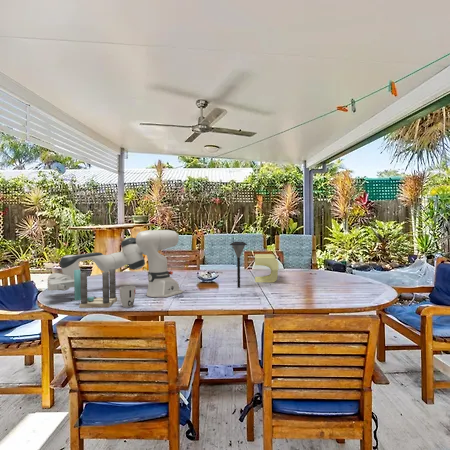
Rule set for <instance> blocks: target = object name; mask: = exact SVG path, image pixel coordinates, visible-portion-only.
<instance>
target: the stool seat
mask: <svg viewBox="0 0 450 450" xmlns="http://www.w3.org/2000/svg"><path fill="white" fill-rule="evenodd" d="M101 278H102V297H101V296H99V297H97V296H93V297H94V300H93V301H88V300H87V298H88V272H86V271H84V272H83V271H81V273H80V280H81V300H80V303H79V304H78V305H79V308H80V309H93V308H95V309H100V308H103V309H105V308H110V307H112V305H114V304H115V303H116V302H118V297H117V295H116V293H117V292H116V291H117V289H116V287H117V286H116V285H117V284H116V283H117V282H116V270H115V269H109V272H104V271H102V277H101Z"/></svg>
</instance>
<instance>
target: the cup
mask: <svg viewBox="0 0 450 450" xmlns="http://www.w3.org/2000/svg"><path fill="white" fill-rule="evenodd" d="M119 298H120V303H121V305H122V307H123V308H125V309H126V308H133V307H134V303H135V298H136V286H134V285H124V286H120V287H119Z"/></svg>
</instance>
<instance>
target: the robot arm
mask: <svg viewBox="0 0 450 450" xmlns="http://www.w3.org/2000/svg"><path fill="white" fill-rule="evenodd" d="M179 239H180V238H179V235H178V232H177V231H175V230H170V229H152V230H151V229H149V230H146V229H145V230H142V231H139V232H138V233H137V234H136V236H135V237H127V238H125V239H123V240H122V241H121V243H120V244H121V245H120V246H121V248H122V251H118V252H114V253H113V252H112V253H110V254H104V253H102V252H87V253H81V254H68V255H67V254H66V255H64V256H62V257H61V258H60V261H59V266H60V268H61V272H62V273H60V272H54V273H51V274H49V275H48V277H47V291H50V292H51V291H63V292H64V291H68V290H69V289H70V288H74V270H81V269H80V265H79V263H80V262H83V261H93V263H94V264H95V265H96V266H97V268H98V269H99V270H100V271H102V272H109V269H115V271H116V270H119V269H120V268H122V267H124V266H126V265H127V266H126V268H129V269H130V270H132V271H135V270H140V269H142V268H143V267H144V266H145V265H146V261H145V259H144V258H145V257H144V256H146V258H147V261H148V272H147V280H148V282H147V283H148V284H147V291H146V296H147V297H152V298H169V297H173V296H176V295H179V294H182V293H184V290H182V289H180V285H179V283H178V281H177V280H176V279H174V278H172V277H171V276H170V275H173V274H174V272H173V271H172V270H168V259H167V257H166V256H165V255H163V254H161V253H160V252H159V251H162V250H166V249H170V248H173V247H176V246H177V245H178V244H179Z"/></svg>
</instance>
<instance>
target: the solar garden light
mask: <svg viewBox="0 0 450 450" xmlns="http://www.w3.org/2000/svg"><path fill="white" fill-rule="evenodd" d="M229 246H232V248H233V251H234V253H235V256H236V258H237V259H236V263H237V264H236V267H237V268H236V269H237V275H236V276H237V278H236V280H237V281H236V282H237V284H236V285H237V289H240V288H241V255H242V253H243V251H244V248H245V246H248V244H247V242H244V241H232V242H231V243H230V244H229Z"/></svg>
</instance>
